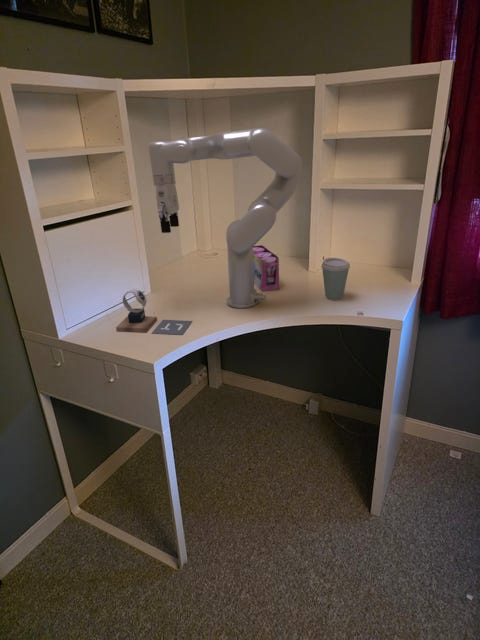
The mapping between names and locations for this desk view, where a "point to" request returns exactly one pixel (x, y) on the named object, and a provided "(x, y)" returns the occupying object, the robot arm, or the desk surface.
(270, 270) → the gum box
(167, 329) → the mat
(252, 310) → the desk surface
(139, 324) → the walnut board
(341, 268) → the disposable coffee cup
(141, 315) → the watch
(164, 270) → the desk surface
